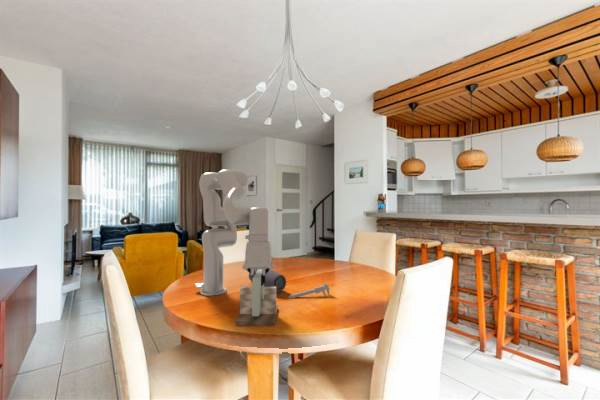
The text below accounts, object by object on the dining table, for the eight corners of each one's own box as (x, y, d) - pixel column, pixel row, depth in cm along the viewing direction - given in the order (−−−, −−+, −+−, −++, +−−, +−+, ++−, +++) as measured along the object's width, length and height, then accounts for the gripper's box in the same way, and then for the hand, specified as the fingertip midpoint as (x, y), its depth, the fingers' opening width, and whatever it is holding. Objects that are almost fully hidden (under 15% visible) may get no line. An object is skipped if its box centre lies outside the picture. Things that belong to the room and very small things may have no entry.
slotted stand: (236, 325, 103) (236, 294, 103) (244, 308, 119) (244, 281, 119) (274, 325, 103) (274, 294, 103) (277, 308, 119) (277, 281, 119)
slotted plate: (258, 316, 104) (259, 278, 104) (252, 316, 104) (252, 278, 104) (263, 302, 118) (263, 269, 118) (257, 302, 118) (257, 269, 118)
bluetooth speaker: (247, 285, 152) (247, 267, 152) (261, 282, 159) (261, 264, 159) (272, 296, 135) (272, 275, 135) (287, 292, 142) (287, 272, 142)
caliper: (328, 295, 138) (328, 282, 138) (329, 296, 137) (329, 283, 137) (287, 298, 133) (287, 284, 133) (288, 298, 132) (288, 285, 132)
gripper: (236, 239, 107) (235, 287, 107) (278, 239, 107) (278, 287, 107) (240, 237, 115) (240, 282, 115) (279, 237, 115) (279, 282, 115)
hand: (258, 284), depth 111 cm, fingers closed on slotted plate, 2 cm apart
